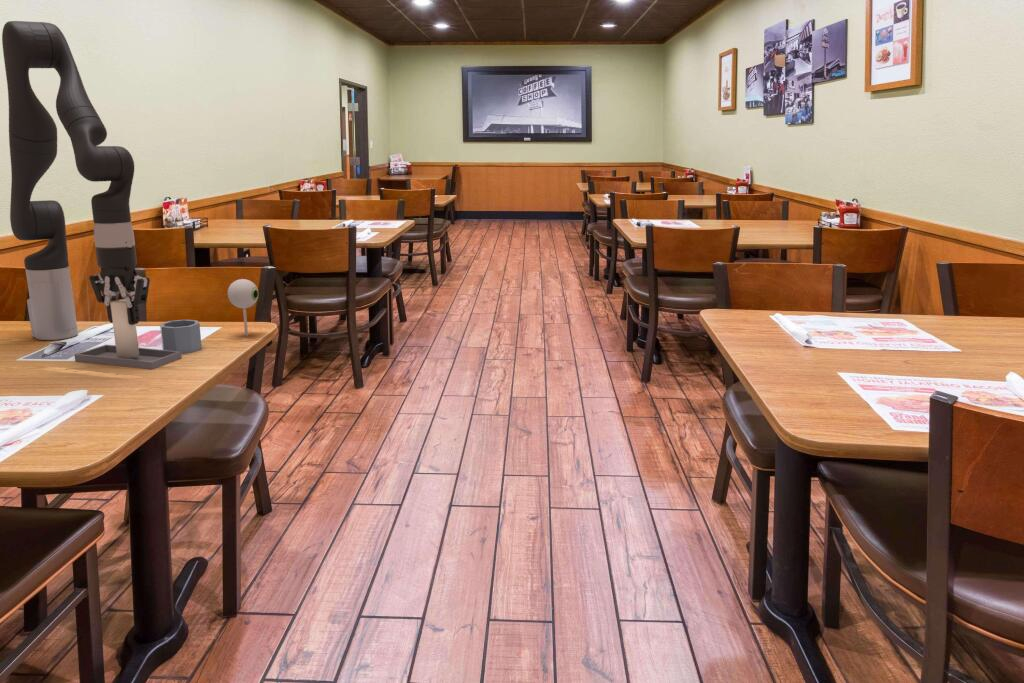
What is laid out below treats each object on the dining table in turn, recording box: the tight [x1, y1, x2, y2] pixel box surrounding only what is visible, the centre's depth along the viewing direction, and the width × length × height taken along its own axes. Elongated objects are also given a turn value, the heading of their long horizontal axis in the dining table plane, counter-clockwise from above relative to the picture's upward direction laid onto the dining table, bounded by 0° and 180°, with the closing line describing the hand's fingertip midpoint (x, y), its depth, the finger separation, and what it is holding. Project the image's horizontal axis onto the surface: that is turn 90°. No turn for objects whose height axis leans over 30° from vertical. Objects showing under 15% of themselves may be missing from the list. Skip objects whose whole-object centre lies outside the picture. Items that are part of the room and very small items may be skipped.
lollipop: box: [227, 278, 259, 337], centre depth 189 cm, size 7×7×15 cm
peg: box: [110, 298, 140, 358], centre depth 167 cm, size 4×4×12 cm
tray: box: [74, 344, 182, 370], centre depth 169 cm, size 20×9×2 cm, turn 74°
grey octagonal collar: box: [159, 319, 203, 355], centre depth 177 cm, size 8×8×7 cm
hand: (124, 322), depth 167 cm, fingers closed on peg, 4 cm apart
